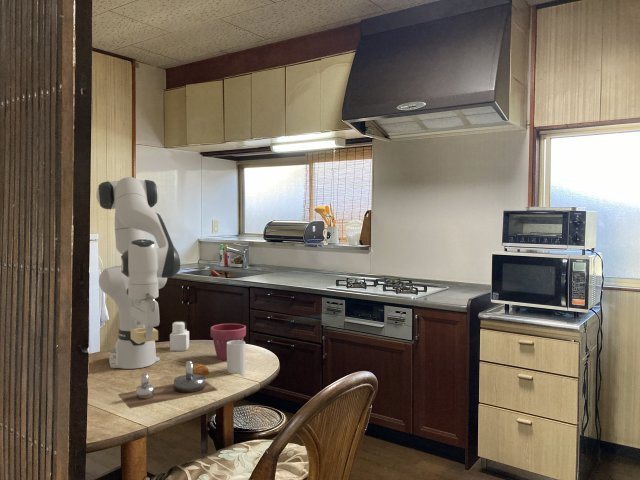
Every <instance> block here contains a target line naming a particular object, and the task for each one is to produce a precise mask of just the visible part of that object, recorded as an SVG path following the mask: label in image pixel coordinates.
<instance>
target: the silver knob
mask: <svg viewBox="0 0 640 480" xmlns="http://www.w3.org/2000/svg"><path fill="white" fill-rule="evenodd" d="M149 383H150V382H149V374H148V373H142V374H141V375H140V385H138V386H137V387H135V388H136V389H135V391H136V398H137V399H139V400H146V399H150V398H153V397H154V387H155V386H154V385H152V384H149Z"/></svg>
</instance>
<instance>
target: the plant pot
mask: <svg viewBox="0 0 640 480" xmlns="http://www.w3.org/2000/svg"><path fill="white" fill-rule="evenodd" d="M246 335H247V326H246V325H245V324H240V323H219V324H215V325H213V326H210V338H212V341H213V346H214V350H215V353H216V358H217V359H218V360H220V361H227V342H229V341H233V340H241V341H244V337H246Z"/></svg>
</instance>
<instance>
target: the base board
mask: <svg viewBox="0 0 640 480" xmlns="http://www.w3.org/2000/svg"><path fill="white" fill-rule="evenodd" d="M215 391H218V389H217V388H216V387H214V386H213V385H212V384H210V383H209V382H207V381H206V380H205V388H204V389H203V390H201V391H199V392H195V393H178V392H176V391H174V383H171V384H165V385H161V386H156V387H155V386H154V397H153V398H150V399H146V400H139V399H137V398H136V390H133V391H129V392H123V393H118V394H117V395H118V396H119V398H120V399H121V400H122V401H123V402H124V404H125V405H126V406H127V407H128V408H129V409H134V408H138V407H143V406H147V405H153V404H158V403H162V402H167V401H168V402H169V401H172V400H173V401H174V400H177V399H182V398H187V397H191V396H197V395H201V394H205V393H209V392H215Z"/></svg>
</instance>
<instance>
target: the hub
mask: <svg viewBox="0 0 640 480" xmlns="http://www.w3.org/2000/svg"><path fill="white" fill-rule="evenodd" d="M193 363H194V362H193V361H191V360H188V361H186V362H185V374H183V375H180V376H176V377H175V378H174V379H173V384H174V391H176V392H178V393H195V392H199V391H201V390H203V389H204V388H205V381H206V378H205V375H204V376H202V375H197V374H193V365H194V364H193Z"/></svg>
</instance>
